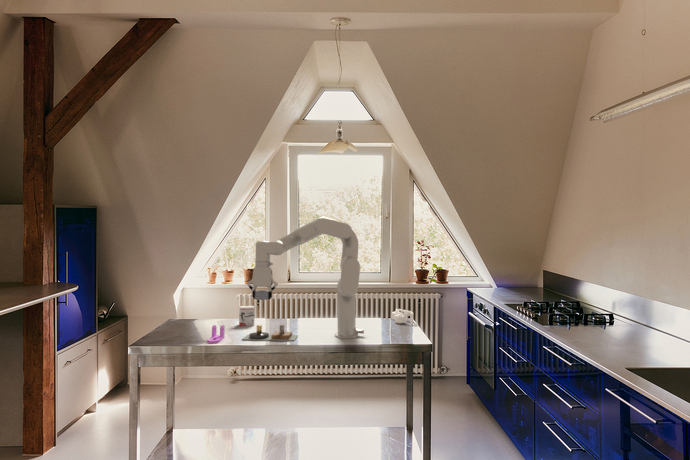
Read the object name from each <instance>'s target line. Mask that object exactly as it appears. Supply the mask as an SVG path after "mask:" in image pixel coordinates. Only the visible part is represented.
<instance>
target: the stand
mask: <svg viewBox="0 0 690 460" xmlns="http://www.w3.org/2000/svg"><path fill="white" fill-rule="evenodd" d="M270 335H271V339H290V338H291V336H292V335H293V331H285V324H279V331H274V332H273V333H272V334H270Z"/></svg>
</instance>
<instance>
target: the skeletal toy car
mask: <svg viewBox="0 0 690 460" xmlns="http://www.w3.org/2000/svg"><path fill="white" fill-rule="evenodd" d="M408 317H410V318H409V319H410V323H409V324H410V326H411V325H412V324H414V312H413V311H411V310H407V309H401V308H395V311H392V312H391V320H392V321H394V323H395V324H399V325H400V324H404V323H405V322H407V321H408V320H407V318H408Z"/></svg>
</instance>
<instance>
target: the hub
mask: <svg viewBox="0 0 690 460" xmlns="http://www.w3.org/2000/svg"><path fill="white" fill-rule="evenodd" d="M262 327H263V325H262V324H256V332H251V333H249V334H248V335H249V338H251V339H265V338H268V337H269V335H270V334H269V333H270V332H269V333H268V332H265V331H263V328H262Z"/></svg>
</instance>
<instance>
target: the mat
mask: <svg viewBox="0 0 690 460" xmlns="http://www.w3.org/2000/svg"><path fill="white" fill-rule="evenodd" d="M271 335H272V334H269V337H268V338H265V339H251V338H249V334H246V335H245V336H243V338H241V341H257V342H258V341H263V342H264V341H268V342H273V341H274V342H295V341H296V340H297V338H298V337H299V335H296V334H295V335H293V334H292V336H291V338H290V339H271Z"/></svg>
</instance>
